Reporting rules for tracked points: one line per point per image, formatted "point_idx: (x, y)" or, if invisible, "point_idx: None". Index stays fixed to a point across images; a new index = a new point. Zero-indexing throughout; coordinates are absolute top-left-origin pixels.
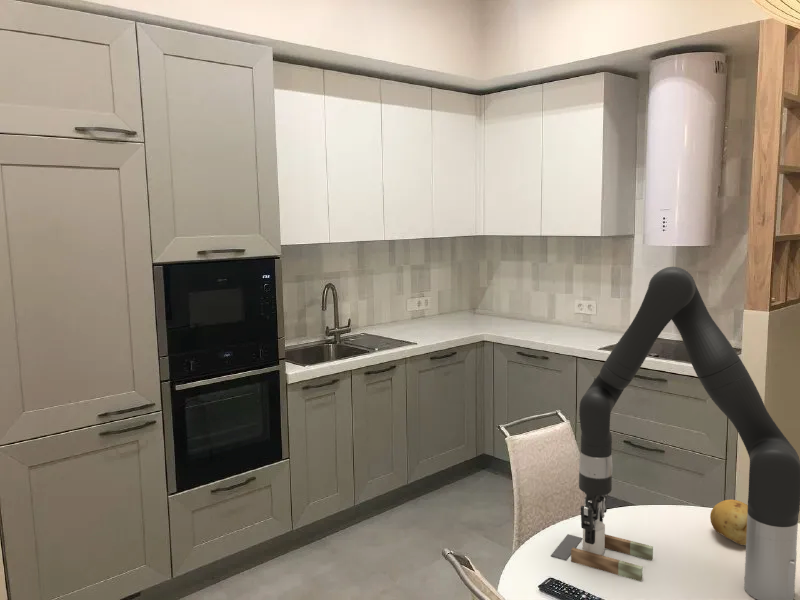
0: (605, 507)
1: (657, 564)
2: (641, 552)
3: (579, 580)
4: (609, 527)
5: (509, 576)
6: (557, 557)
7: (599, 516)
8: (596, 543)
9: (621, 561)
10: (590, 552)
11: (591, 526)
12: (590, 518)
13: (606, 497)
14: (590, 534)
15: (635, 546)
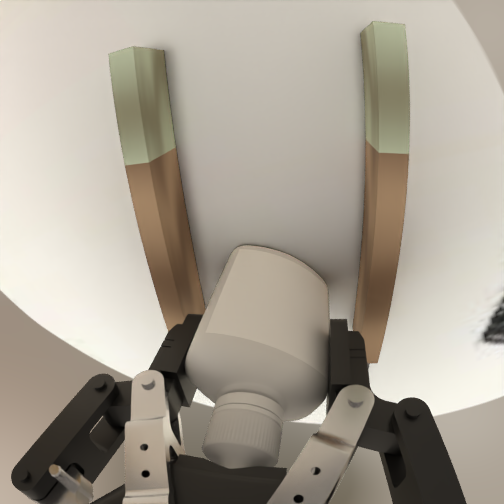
0: (95, 405)
1: (180, 18)
2: (156, 97)
3: (482, 266)
4: (63, 276)
5: (488, 398)
6: (368, 363)
7: (236, 427)
8: (299, 305)
9: (386, 141)
10: (368, 301)
11: (438, 430)
12: (457, 488)
13: (53, 450)
14: (368, 375)
15: (150, 131)
